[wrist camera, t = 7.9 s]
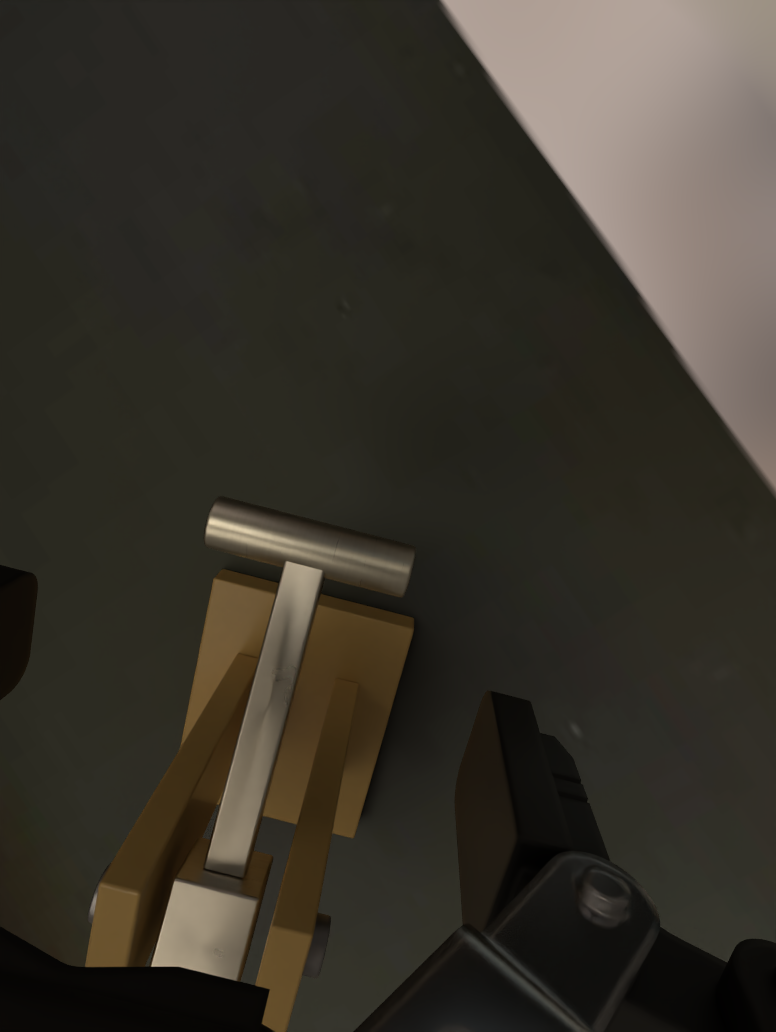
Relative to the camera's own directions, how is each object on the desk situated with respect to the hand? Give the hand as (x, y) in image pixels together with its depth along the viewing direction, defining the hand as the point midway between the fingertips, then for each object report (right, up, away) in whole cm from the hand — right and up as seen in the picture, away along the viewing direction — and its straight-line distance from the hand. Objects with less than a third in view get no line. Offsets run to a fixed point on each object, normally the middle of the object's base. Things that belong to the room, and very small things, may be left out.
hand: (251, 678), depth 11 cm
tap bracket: (-2, -5, +16) cm, 17 cm away
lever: (-1, -3, +7) cm, 8 cm away
